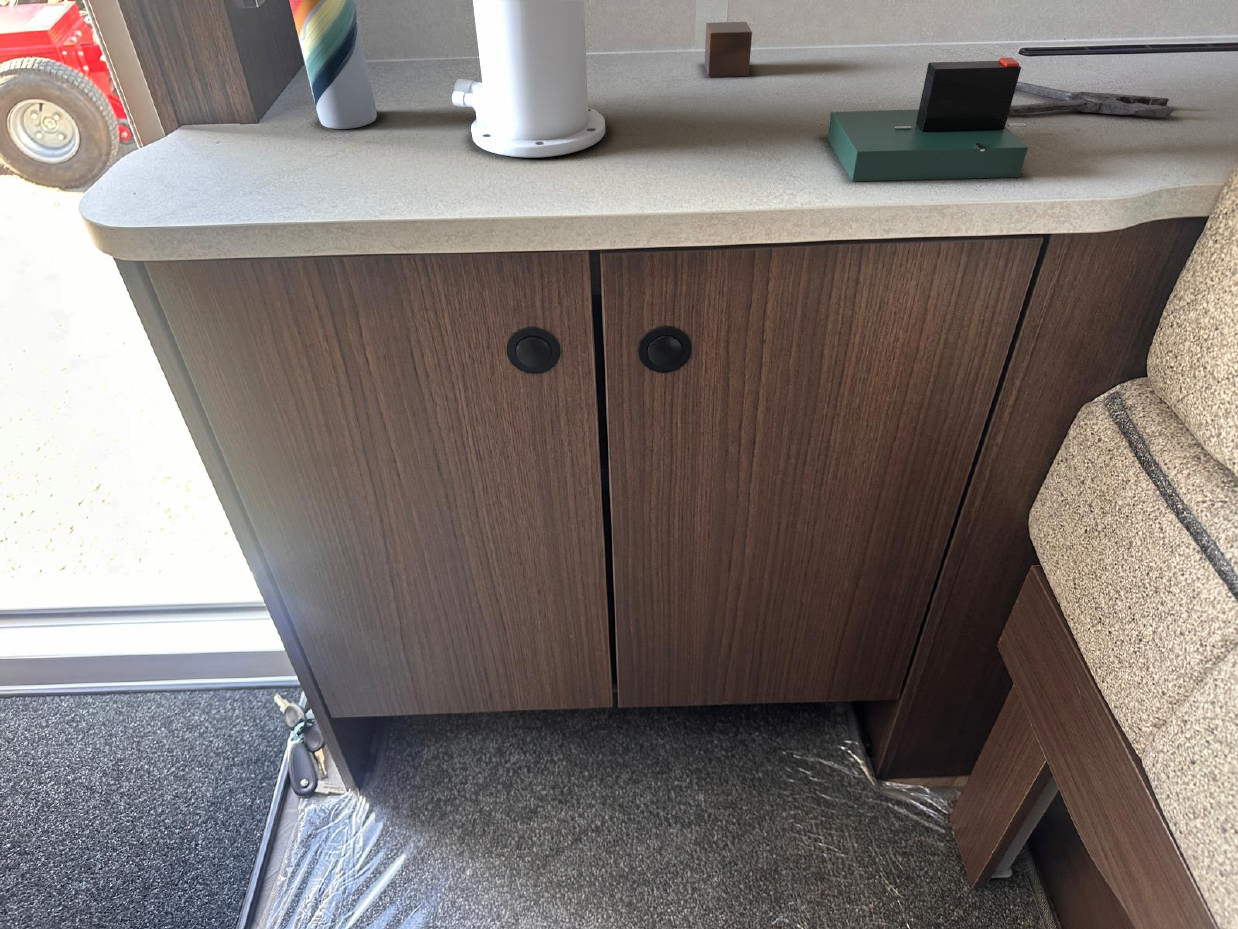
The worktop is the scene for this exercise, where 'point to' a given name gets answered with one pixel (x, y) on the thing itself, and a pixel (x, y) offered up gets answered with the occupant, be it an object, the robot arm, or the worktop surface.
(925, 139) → the green base
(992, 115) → the block
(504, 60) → the robot arm
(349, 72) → the lotion bottle
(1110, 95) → the pliers
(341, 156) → the worktop surface
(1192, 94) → the worktop surface
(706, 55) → the block
